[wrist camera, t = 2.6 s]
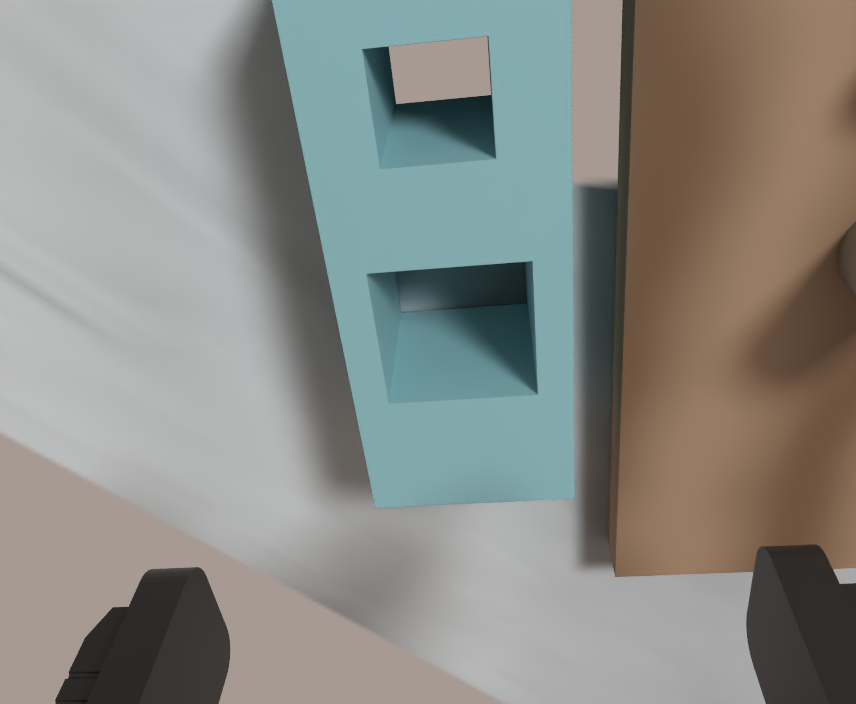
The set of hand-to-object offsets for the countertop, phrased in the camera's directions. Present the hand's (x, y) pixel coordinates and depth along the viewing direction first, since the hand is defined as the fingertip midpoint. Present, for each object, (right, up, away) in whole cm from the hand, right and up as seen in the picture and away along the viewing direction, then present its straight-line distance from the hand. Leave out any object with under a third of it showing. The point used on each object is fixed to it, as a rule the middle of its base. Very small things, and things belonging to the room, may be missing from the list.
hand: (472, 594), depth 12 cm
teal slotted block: (0, +7, +8) cm, 11 cm away
